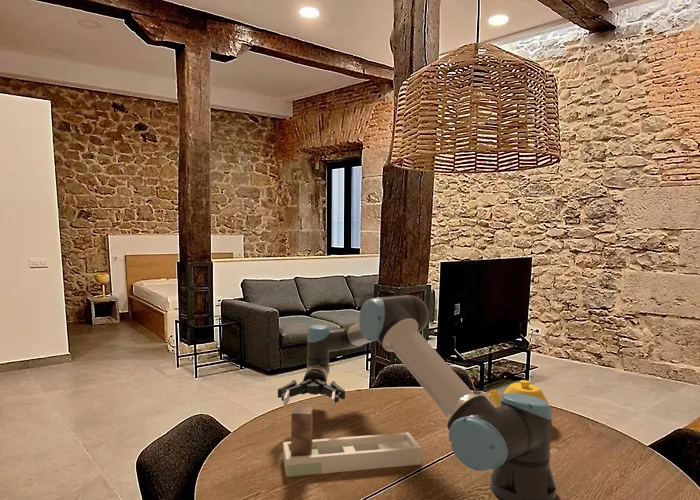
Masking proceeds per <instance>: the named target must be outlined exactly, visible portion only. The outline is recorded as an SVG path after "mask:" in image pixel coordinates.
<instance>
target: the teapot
mask: <svg viewBox="0 0 700 500" xmlns="http://www.w3.org/2000/svg"><path fill="white" fill-rule="evenodd" d="M505 393H519V394H525V395H530V396H533V397H537V398H539V399H542V400H544V401H546V402H547V403H548V401H547V398H546V397H545V395H544V393H543V390H541V388H540V387H539V386H537V385H535V384H532V383H531V381H529V380H526V379H522V380H519V382H513V383H511V384H510V385H508V387H506V389H505V391H504V392H503V394H505ZM488 396H489V397H490V398H491V399H492V400H493V402H494V403H495V405H497V407H498V406H501V402H500V400H501V396H500V394H499V393H498V391H496V389H492V390H490V391H489V393H488Z"/></svg>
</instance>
